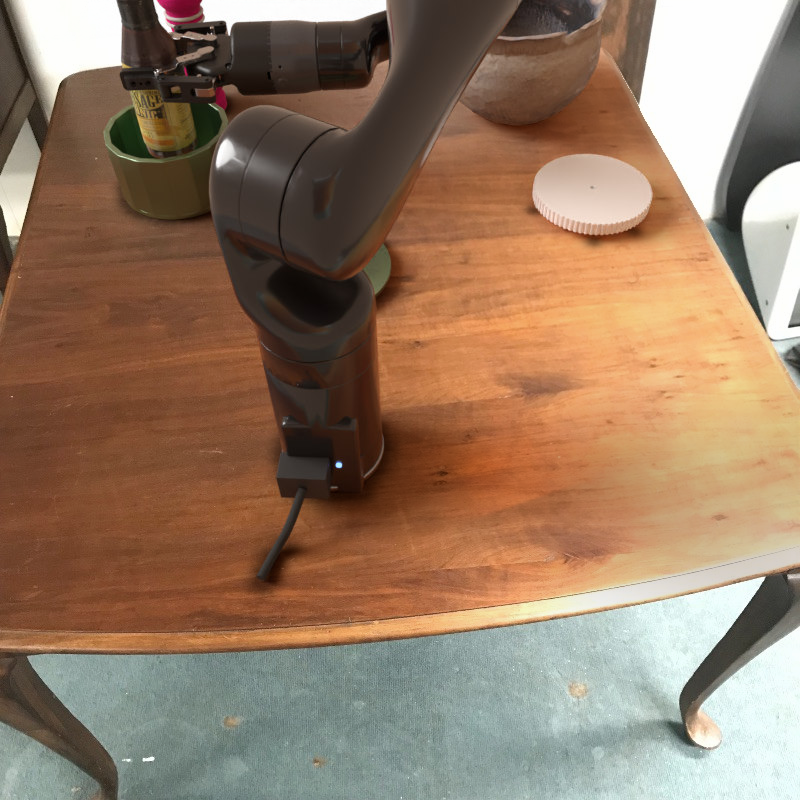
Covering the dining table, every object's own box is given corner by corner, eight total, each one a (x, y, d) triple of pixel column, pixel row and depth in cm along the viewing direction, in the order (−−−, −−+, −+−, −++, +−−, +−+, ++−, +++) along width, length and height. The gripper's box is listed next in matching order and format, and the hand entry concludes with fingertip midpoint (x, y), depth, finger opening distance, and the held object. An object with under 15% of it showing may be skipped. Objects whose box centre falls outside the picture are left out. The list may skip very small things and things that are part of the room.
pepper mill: (176, 98, 111) (137, -53, 95) (226, 90, 112) (196, -61, 97) (182, 125, 107) (143, -29, 91) (234, 116, 108) (204, -37, 92)
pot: (226, 221, 93) (213, 163, 87) (109, 218, 94) (87, 160, 88) (248, 152, 102) (237, 95, 96) (141, 150, 103) (123, 93, 97)
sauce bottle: (137, 154, 94) (80, -18, 79) (174, 129, 97) (126, -40, 82) (176, 170, 92) (124, -3, 76) (212, 145, 95) (170, -26, 79)
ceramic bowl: (547, 169, 99) (565, 55, 87) (402, 122, 106) (401, 11, 95) (612, 90, 111) (636, -20, 99) (478, 52, 118) (485, -54, 107)
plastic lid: (636, 170, 99) (640, 153, 97) (657, 242, 90) (663, 224, 88) (526, 171, 99) (528, 153, 97) (537, 242, 90) (539, 224, 88)
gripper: (278, -6, 87) (130, -1, 87) (268, 58, 78) (103, 64, 78) (287, 58, 93) (149, 63, 93) (278, 124, 84) (125, 130, 84)
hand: (128, 63), depth 86 cm, fingers closed on sauce bottle, 6 cm apart
